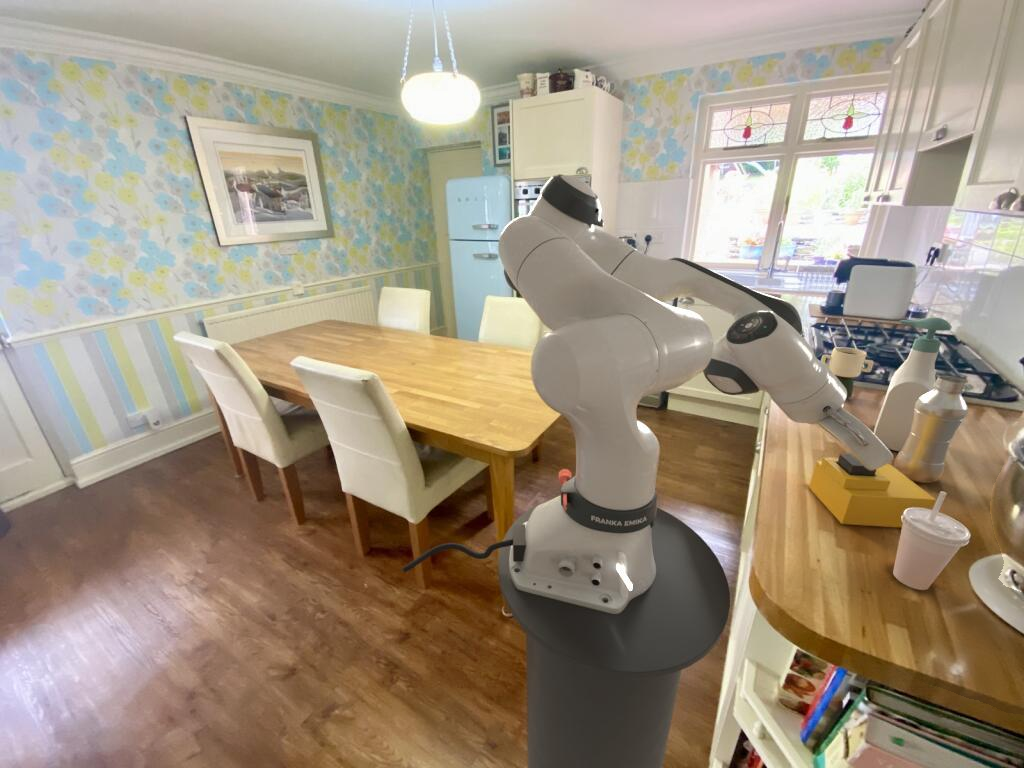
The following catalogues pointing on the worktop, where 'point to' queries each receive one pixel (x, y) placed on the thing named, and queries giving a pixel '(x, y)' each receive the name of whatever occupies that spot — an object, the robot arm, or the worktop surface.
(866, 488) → the stepped yellow pedestal
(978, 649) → the worktop surface
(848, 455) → the block
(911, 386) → the soap bottle
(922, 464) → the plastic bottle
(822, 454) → the worktop surface
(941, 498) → the smoothie
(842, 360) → the character mug
